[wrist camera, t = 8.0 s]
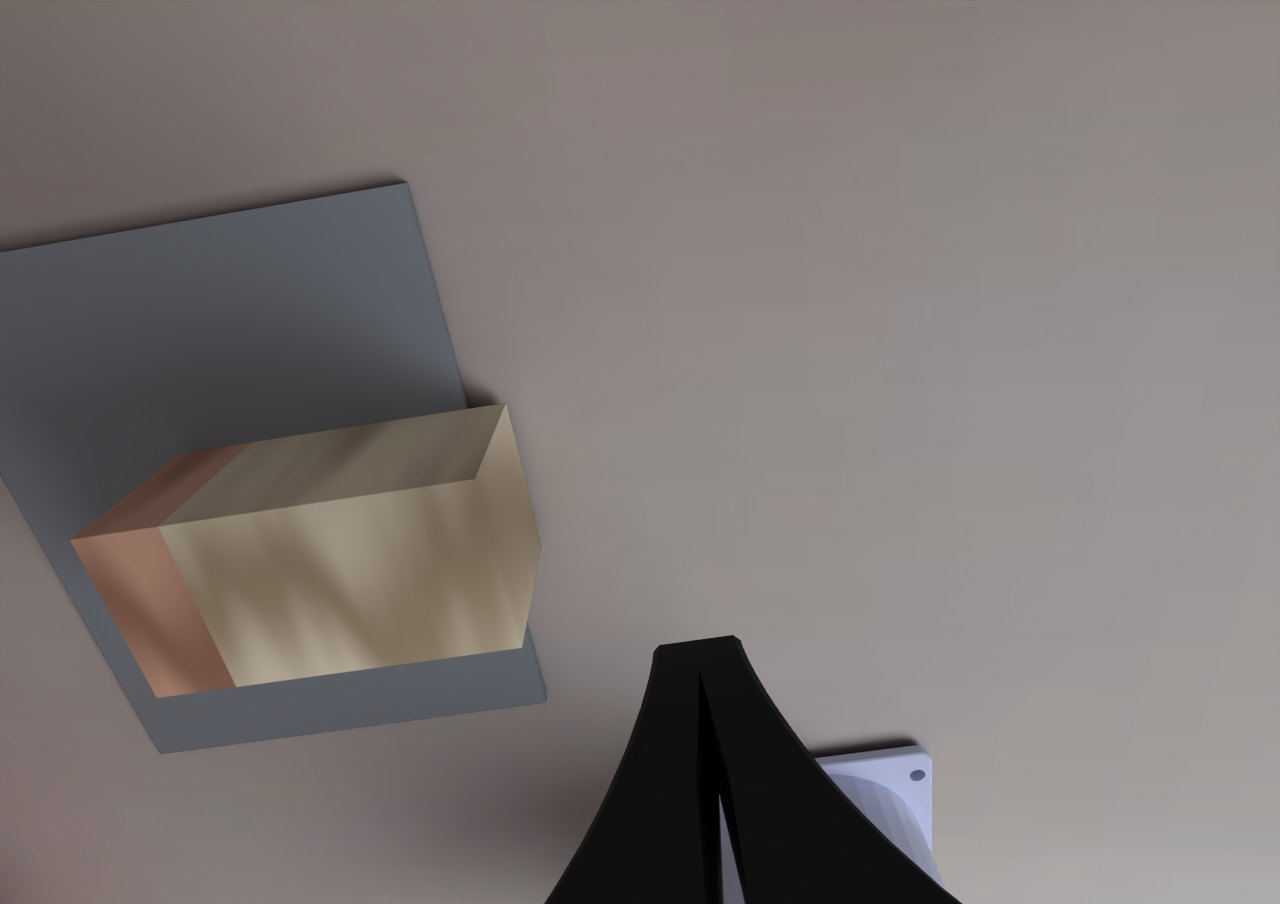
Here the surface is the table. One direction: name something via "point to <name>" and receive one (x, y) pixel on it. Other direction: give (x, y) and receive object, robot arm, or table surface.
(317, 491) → the tall block
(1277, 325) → the table surface
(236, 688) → the mat
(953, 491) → the table surface
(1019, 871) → the table surface
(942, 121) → the table surface
